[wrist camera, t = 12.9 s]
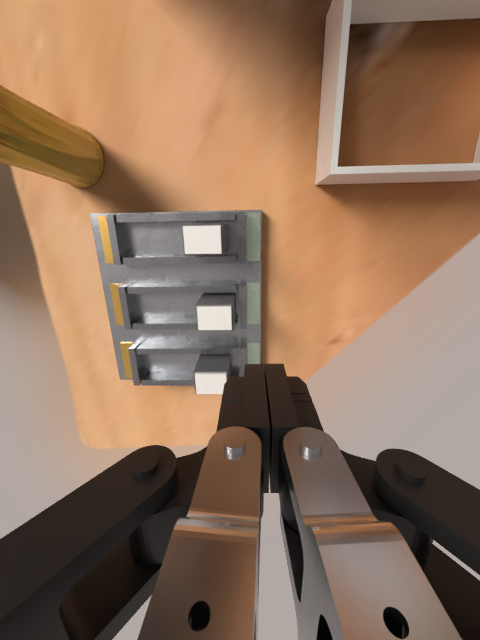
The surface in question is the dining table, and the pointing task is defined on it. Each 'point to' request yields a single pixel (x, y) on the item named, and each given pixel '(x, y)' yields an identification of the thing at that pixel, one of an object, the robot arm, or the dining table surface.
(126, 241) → the panel
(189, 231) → the breaker near
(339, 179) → the frame
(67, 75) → the dining table surface
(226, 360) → the breaker far
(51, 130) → the vase
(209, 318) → the block
